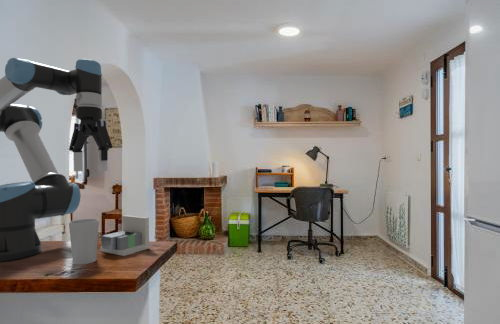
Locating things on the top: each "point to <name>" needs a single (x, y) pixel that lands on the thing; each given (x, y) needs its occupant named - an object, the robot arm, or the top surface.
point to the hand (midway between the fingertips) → (90, 171)
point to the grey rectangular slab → (113, 239)
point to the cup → (84, 240)
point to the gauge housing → (132, 236)
